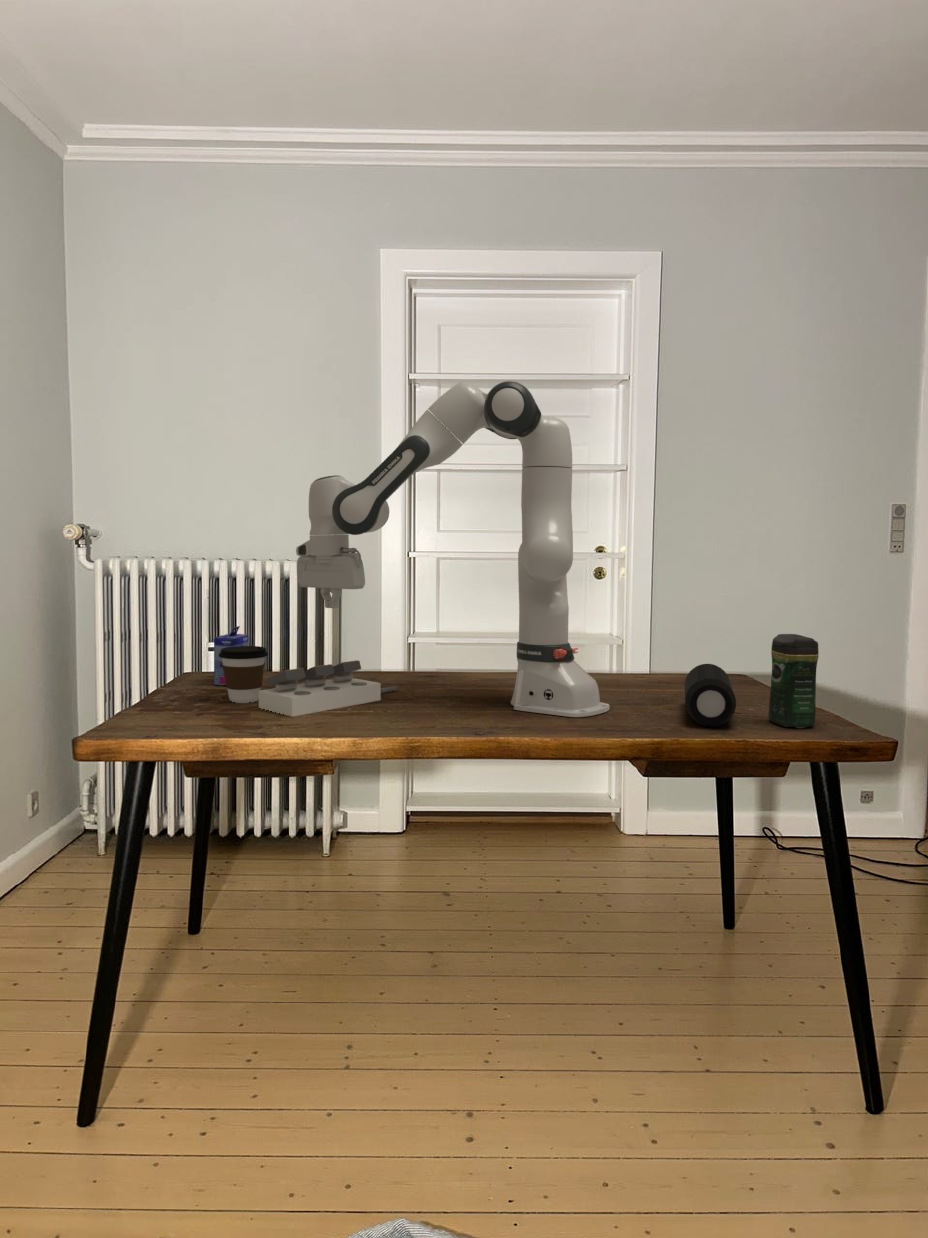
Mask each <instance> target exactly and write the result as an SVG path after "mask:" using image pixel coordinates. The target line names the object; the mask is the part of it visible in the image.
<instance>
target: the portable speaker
mask: <svg viewBox="0 0 928 1238" xmlns="http://www.w3.org/2000/svg"><path fill="white" fill-rule="evenodd" d="M684 701H685V702H684V703H685V708H686V711H687V714H688V715H689V716H690V718H691V719H692V720H693V721H694V722H695V723H697V724H698V725H700V726H704V727H706V726H708V728H709V727H710V728H716V727H719V726H722V725H724V724H726V723H727V722H728V721H730V720H731V718H732V717H733V716H734V713H735V712H736V707H737V699H736V695H735V692H734V690H733V687H732V684H731V681H730V677H729V675H728V674H727V673H726V671H725V670H724V669H723V668H722V667H719V666H718V665H716V664H713V663H702V664H699V665H697V666H695V667H693V668H692V669H691V670H690V671H689V672H688V673H687V674H686V677H685V680H684Z"/></svg>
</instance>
